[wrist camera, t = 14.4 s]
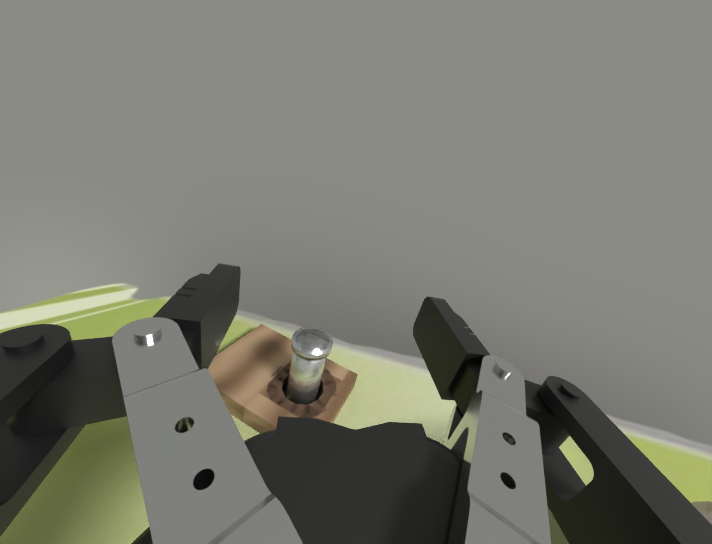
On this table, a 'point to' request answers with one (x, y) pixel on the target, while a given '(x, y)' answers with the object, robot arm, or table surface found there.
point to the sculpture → (704, 509)
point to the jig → (273, 381)
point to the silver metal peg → (307, 364)
